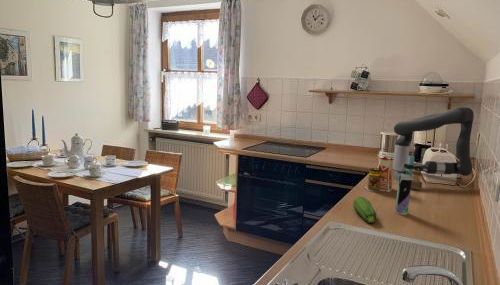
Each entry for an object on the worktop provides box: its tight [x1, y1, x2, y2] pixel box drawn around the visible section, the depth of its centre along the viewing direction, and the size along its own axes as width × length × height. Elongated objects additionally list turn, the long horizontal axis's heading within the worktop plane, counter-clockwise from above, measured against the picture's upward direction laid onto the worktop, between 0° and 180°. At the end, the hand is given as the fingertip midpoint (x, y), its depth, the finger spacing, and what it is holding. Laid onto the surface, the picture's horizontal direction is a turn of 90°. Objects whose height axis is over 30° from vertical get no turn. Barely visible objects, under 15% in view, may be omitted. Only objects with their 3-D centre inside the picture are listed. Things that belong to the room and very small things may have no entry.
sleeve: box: [393, 170, 404, 182], centre depth 236 cm, size 11×6×5 cm, turn 179°
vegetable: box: [352, 196, 377, 224], centre depth 169 cm, size 7×7×20 cm
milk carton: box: [377, 154, 393, 193], centre depth 214 cm, size 9×9×20 cm
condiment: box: [363, 167, 382, 193], centre depth 212 cm, size 7×8×12 cm
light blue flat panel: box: [400, 155, 416, 182], centre depth 229 cm, size 15×3×16 cm, turn 179°
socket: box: [411, 179, 423, 191], centre depth 219 cm, size 6×6×5 cm
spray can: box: [394, 171, 413, 216], centre depth 176 cm, size 6×6×20 cm
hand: (405, 166), depth 225 cm, fingers closed on light blue flat panel, 2 cm apart
